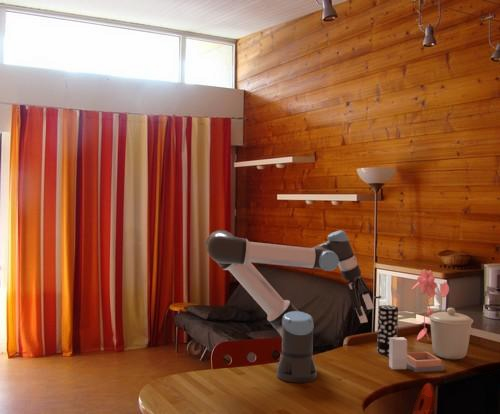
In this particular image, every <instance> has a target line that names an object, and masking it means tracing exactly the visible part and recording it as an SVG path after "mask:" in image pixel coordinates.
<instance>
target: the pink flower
mask: <svg viewBox="0 0 500 414" xmlns="http://www.w3.org/2000/svg"><path fill="white" fill-rule="evenodd" d="M419 274H420V276H418V277H417V278H416V280H417V283H415V284H414V285H413V287H412V288H411V289H410V290H411V291H412V290H414V289H415V288H417V287H418V288H419V289H420V292H421V294H422V295H425V294H427V296H428V297H427V298H426V302H427V306H428V307H427V308H428V310H427V313H425V314H424V315H423V322H424V323H423V329H421V330H420V332H419V333H418V335H417V338H416V341H420V340H421V339H422V338H423V337H424V336H425V335H426V338H427V340H428V342H430V338H429V335H428V328H427V327H426V315H428V317H429V316H430V315H432V314H433V313H434V311H433V310H432V309H431V308H430V304H429V299H431V298H432V297H433V296H436V295H437V296H439V297H442V298H446V297H447V295H448V294H449V292H450V287H449V284H448V283H446V282H445V281H444V282H443V283H442V284H441V286H440V293H441V294H439V293H437V292H436V291H435V289H436V288H438V283H437V282H436V281H435V276H434V275H433V274H434V273H433V271H432V270H431V269H429V271H427V269H425V268H423V270H420V271H419ZM412 348H416V349H419V350H424V351H426V349H425V348H420V347H417V346H413V345H412ZM430 351H433V349H430ZM433 352H434V351H433Z"/></svg>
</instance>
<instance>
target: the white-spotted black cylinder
mask: <svg viewBox="0 0 500 414" xmlns="http://www.w3.org/2000/svg"><path fill="white" fill-rule="evenodd" d="M377 313H378V314H377V315H378V317H377V343H376V344H377V346H376V352H377V354H379V355H381V356H388V357H389V341H390V337H398V328H399V325H398V324H399V307H398V306H394V305H389V304H388V305H386V304H385V305H384V304H383V305H382V304H381V305H379V306H378V311H377Z"/></svg>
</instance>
